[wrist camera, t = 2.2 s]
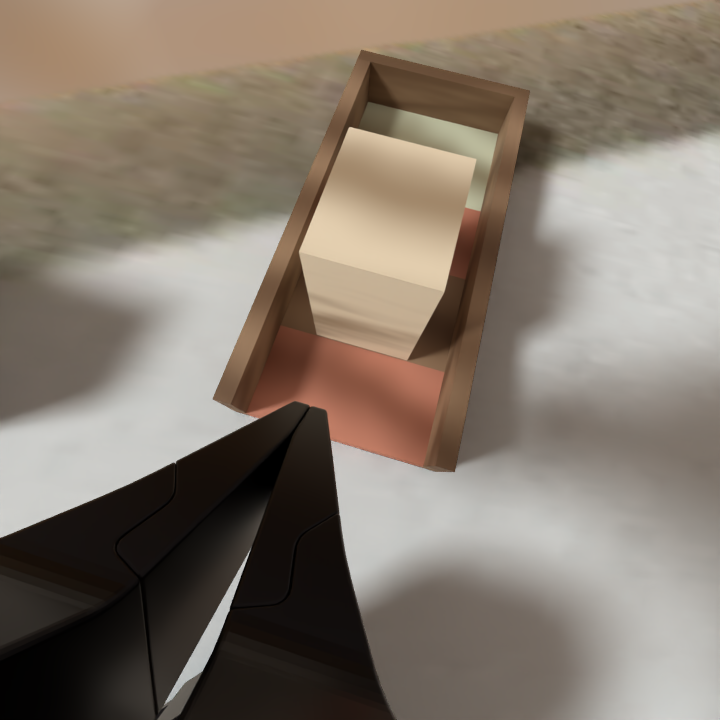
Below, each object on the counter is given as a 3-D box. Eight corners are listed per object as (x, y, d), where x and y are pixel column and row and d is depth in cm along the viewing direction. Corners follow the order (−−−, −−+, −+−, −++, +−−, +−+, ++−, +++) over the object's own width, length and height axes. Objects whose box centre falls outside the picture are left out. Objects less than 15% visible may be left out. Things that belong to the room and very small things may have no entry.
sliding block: (406, 360, 22) (444, 292, 14) (316, 334, 23) (299, 252, 14) (431, 268, 24) (476, 159, 16) (348, 245, 25) (349, 126, 16)
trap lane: (435, 471, 22) (454, 471, 18) (235, 411, 22) (212, 398, 18) (506, 139, 30) (529, 90, 26) (359, 102, 31) (361, 49, 27)
